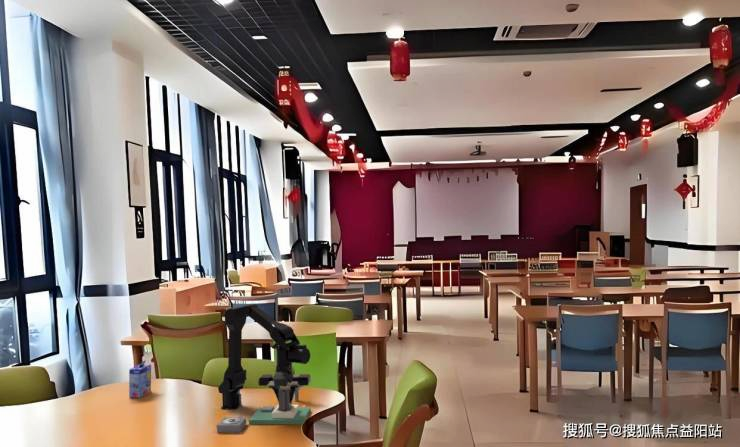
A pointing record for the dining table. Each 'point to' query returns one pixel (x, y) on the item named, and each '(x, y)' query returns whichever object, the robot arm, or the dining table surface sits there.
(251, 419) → the board
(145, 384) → the ink cartridge box
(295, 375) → the mechanical component
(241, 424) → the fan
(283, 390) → the plug
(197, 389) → the dining table surface
